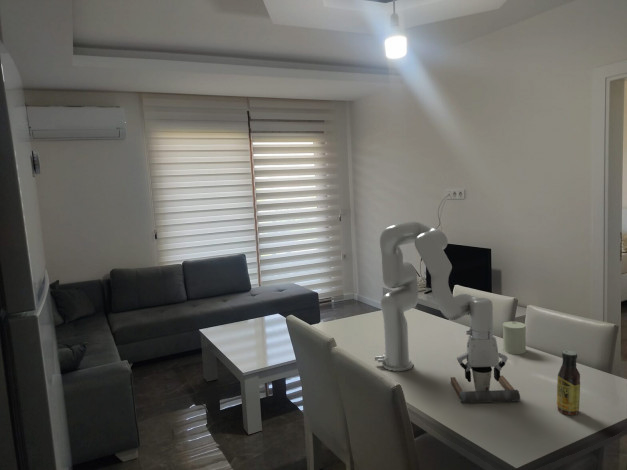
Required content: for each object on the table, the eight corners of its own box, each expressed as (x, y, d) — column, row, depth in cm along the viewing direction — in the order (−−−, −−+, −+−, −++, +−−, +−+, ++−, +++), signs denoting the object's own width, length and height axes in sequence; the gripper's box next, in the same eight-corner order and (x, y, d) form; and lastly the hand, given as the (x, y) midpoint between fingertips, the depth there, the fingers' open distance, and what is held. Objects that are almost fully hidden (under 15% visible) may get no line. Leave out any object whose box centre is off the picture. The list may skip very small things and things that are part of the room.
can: (524, 347, 194) (524, 320, 193) (527, 355, 186) (527, 327, 184) (502, 345, 197) (501, 319, 196) (503, 353, 189) (503, 326, 187)
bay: (462, 404, 148) (462, 394, 148) (450, 383, 164) (450, 374, 164) (520, 403, 147) (520, 392, 147) (503, 382, 163) (502, 372, 162)
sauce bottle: (552, 407, 143) (552, 348, 141) (570, 405, 144) (570, 347, 141) (565, 418, 137) (565, 356, 134) (584, 415, 137) (585, 354, 135)
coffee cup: (494, 396, 152) (493, 369, 151) (473, 395, 154) (472, 368, 153) (490, 387, 159) (490, 360, 158) (470, 386, 161) (469, 360, 160)
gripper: (459, 338, 151) (460, 385, 153) (510, 336, 150) (511, 384, 152) (453, 331, 158) (455, 376, 160) (502, 329, 157) (503, 374, 159)
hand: (482, 380), depth 156 cm, fingers open, 9 cm apart
